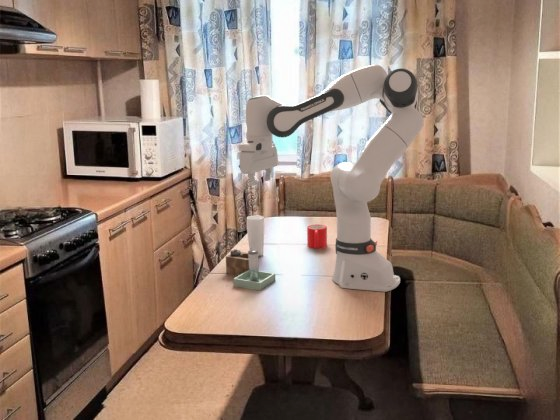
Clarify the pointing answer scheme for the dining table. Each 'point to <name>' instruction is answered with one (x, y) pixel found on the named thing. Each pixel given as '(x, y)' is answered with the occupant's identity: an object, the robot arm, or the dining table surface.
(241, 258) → the tensioner block
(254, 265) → the pin
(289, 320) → the dining table surface
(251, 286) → the tray
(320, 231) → the mug
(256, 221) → the white tall cup
